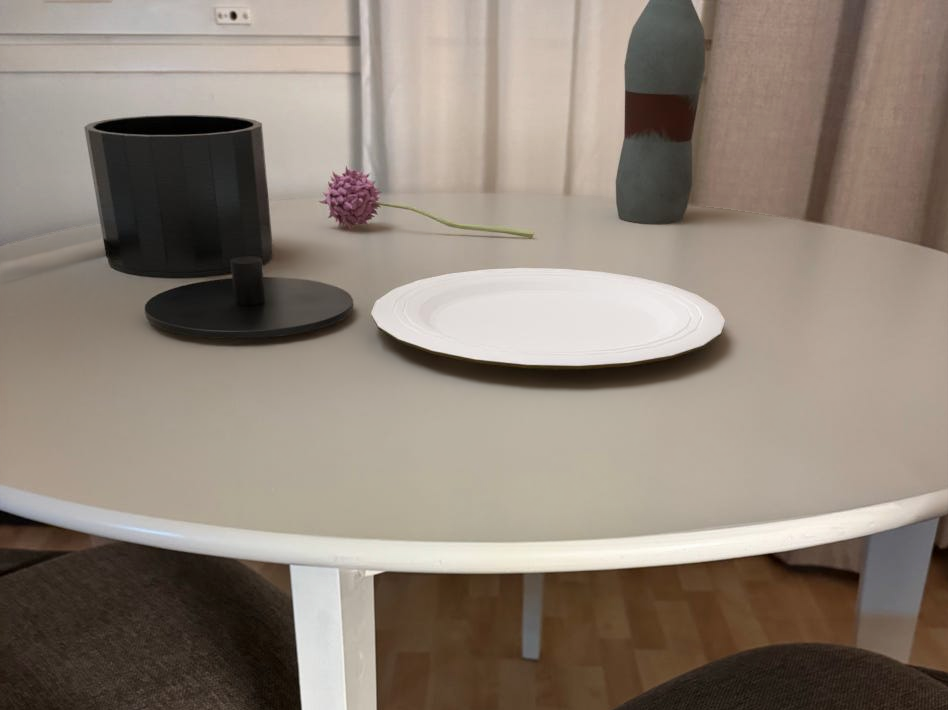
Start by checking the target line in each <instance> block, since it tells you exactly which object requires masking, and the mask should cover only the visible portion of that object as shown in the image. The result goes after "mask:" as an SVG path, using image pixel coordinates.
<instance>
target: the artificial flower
mask: <svg viewBox="0 0 948 710" xmlns="http://www.w3.org/2000/svg"><path fill="white" fill-rule="evenodd" d="M363 173H364V170H361V171H359V172H358V171H357V169H351V170H350V169H348V167H347V165H345V172H342V175H338V174H337V173H335V171H334V170H332V176H333V177H332V176H330V181H332V182H330V181H328V182H327V183H328V184H327V185H328V187H327V189H328V193H325V192H323V195H324V196H325V197H326V198H324V199H322V200H318V202H319V203H321V204H323V205H327V206H329V207H328V210H329V215H328V217H327V219H331V218H332V217H333V218H334V219H335V223H337V222H338V227H343V226H344V225H345V230H347V229H350V230H351V228H352V229H353V230H354V229H355V226H357V224H358V226H360V225H363V224H367V225H368V222H367V221H370V220H371V221H372V220H373V218H375V215H377V216H378V212H377V210H379V208H382V206H383V207H389V208H390V207H391V208H396V209H402V210H408V211H409V210H410V211H412V212H415V213H418V214H421V215H423V216H426V217H428V218H430V219H431V220H434V221H436V222H438V223H440V224H442V225H445V226H447V227H450V228H454V229H459V230H466V231H467V230H469V231H479V232H488V233H499V234H506V235H511V236H517V237H522V238H523V237H524V238H527V239H528V238H529V239H533V238H534V233H535V231H534V230H527V229H520V228H513V227H503V226H494V225H493V226H491V225H480V224H469V223H458V222H454V221H449V220H446V219H444V218H441V217H439V216H437V215H435V214H432V213H429V212H427V211H425V210H422V209H419V208H417V207H414V206H408V205H401V204H395V203H386V202H381V201H379V199H380V198H381V197H380V196H378V195H379V194H382V193H383V192H382V191H380V189H379V187H375V184H376V182H377V181H376V180H370V179H368V178H369V176H370V174H371V172H368V173H367V174H363Z"/></svg>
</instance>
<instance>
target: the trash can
mask: <svg viewBox="0 0 948 710" xmlns="http://www.w3.org/2000/svg"><path fill="white" fill-rule="evenodd" d="M83 129H84V135H85V139H86V140H85V141H86V146H87V153H88V157H89V163H90V170H91V175H92V181H93V187H94V194H95V199H96V205H97V211H98V216H99V223H100V229H101V235H102V240H103V241H102V242H103V246H104V253H105V257H106V259H107V263H108V266H109V267H110V268H112V269H113V270H117V271H119V272H120V273H121V272H123V273H126V274H129V275H130V274H131V275H135V276H142V277H153V278H203V277H214V276H223V275H229V274H230V275H231V274H232V272H231V262H230V260H231V259H233V258H236V257H243V256H253V257H259V258H261V259H262V266H263V265H266V264H267V263H270V261H272V259H273V257H274V253H273V252H274V251H273V250H274V244H273V233H272V232H273V231H272V222H271V211H270V200H269V187H268V177H267V166H266V155H265V142H264V131H263V123H262V122H261V121H258V120H256V119H250V118H246V117H245V118H244V117H239V116H238V117H237V116H225V115H208V114H207V115H205V114H163V115H162V114H161V115H160V114H159V115H158V114H157V115H140V116H127V117H125V116H124V117H118V118H117V117H115V118H109V119H102V120H98V121H94V122H90V123H88V124H86V125H85V126H84V127H83Z"/></svg>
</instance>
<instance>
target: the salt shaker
mask: <svg viewBox="0 0 948 710" xmlns="http://www.w3.org/2000/svg"><path fill="white" fill-rule="evenodd" d="M41 1H42V3H44V4H45V3H46V4H112V2H113V0H41Z"/></svg>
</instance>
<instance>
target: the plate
mask: <svg viewBox="0 0 948 710" xmlns="http://www.w3.org/2000/svg"><path fill="white" fill-rule="evenodd" d="M370 316H371V318H372V320H373V322H374V323H375V325H376V327H377V329H378V330H380V331H381V332H383V333H385V334H386V335H387V336H389V337H390V338H392V339H394V340H395V341H397V342H399V343H400V344H403V345H406V346H408V347H412V348H415V349H417V350H420V351H424V352H426V353H428V354H432V355H436V356H441V357H446V358H450V359H455V360H460V361H465V362H470V363H475V364H481V365H482V364H483V365H492V366H500V367H509V368H518V369H528V370H529V369H530V370H556V371H557V370H561V371H562V370H564V371H565V370H566V371H570V370H591V369H604V368H618V367H620V368H621V367H631V366H637V365H642V364H649V363H654V362H655V363H656V362H659V361H666V360H671V359H673V358H677V357H680V356H683V355H685V354H689V353H692V352H694V351H695V352H696V351H698V350H701V349H702V348H705V347H706V346H707V345H709V344H710V343H712V342H714V341H715V340H716V339H718V338H719V337H721V335H722V332H723V330H724V327H725V323H726V319H725V318H724V316H723V314H722V313H721V311H720V310H719V308H718V307H717V306H716V305H714V304H713V303H711V302H710V301H708V300H706V299H704V298H703V297H701V296H700V295H698V294H696V293H693V292H691V291H689V290H685V289H682V288H680V287H677V286H674V285H671V284H667V283H663V282H660V281H655V280H651V279H646V278H642V277H638V276H631V275H625V274H618V273H612V272H606V271H605V272H604V271H596V270H595V271H594V270H584V269H571V268H549V267H548V268H546V267H540V268H539V267H515V268H514V267H512V268H511V267H510V268H493V269H488V268H487V269H478V270H469V271H461V272H453V273H452V272H451V273H445V274H441V275H437V276H432V277H431V276H430V277H427V278H422V279H418V280H415V281H412V282H409V283H406V284H404V285H401V286H397V287H396V288H393V289H391V290H390V291H389V292H387V293H385V294H384V295H383V296H382V297H380V298H379V299H377V300H376V301H375V302H374V305H373V308H372V310H371V312H370Z"/></svg>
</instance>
